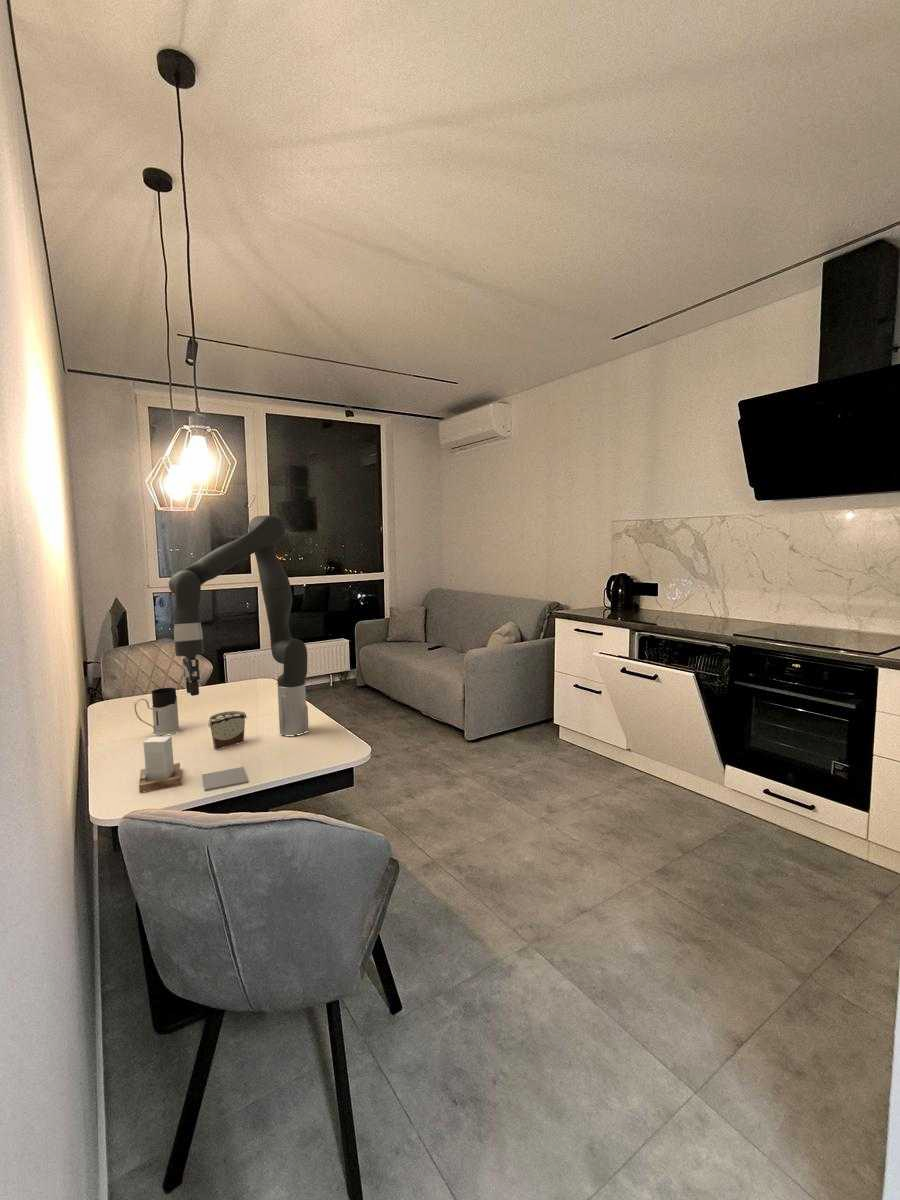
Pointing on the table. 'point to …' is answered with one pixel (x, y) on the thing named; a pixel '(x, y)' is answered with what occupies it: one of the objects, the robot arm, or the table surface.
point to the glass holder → (163, 711)
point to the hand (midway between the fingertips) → (192, 694)
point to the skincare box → (158, 758)
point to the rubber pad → (224, 778)
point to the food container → (227, 728)
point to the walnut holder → (162, 782)
